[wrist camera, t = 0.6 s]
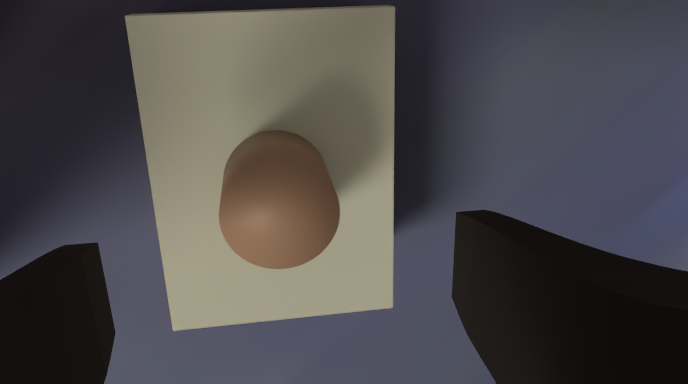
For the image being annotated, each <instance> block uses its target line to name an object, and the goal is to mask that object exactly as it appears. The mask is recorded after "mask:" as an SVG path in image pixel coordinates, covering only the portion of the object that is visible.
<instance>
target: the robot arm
mask: <svg viewBox="0 0 688 384" xmlns="http://www.w3.org/2000/svg"><path fill="white" fill-rule="evenodd" d="M452 299H453V301H454V304H455V306H456V309H457V311H458V314H459V316H460V319H461V321H462V323H463V326H464V328H465V330H466V333H467V335H468V337H469V338H470V340H471V342H472V344H473V345H474V347H475V349H476V350H477V352H478V354H479V355H480V357H481V359H482V360H483V362H484V364H485V365H486V367H487V369H488V370H489V372H490V373H491V375H492V377H493V378H494V380H495V382H496V383H497V384H688V272H687V271H682V270H677V269H672V268H667V267H662V266H658V265H654V264H650V263H646V262H642V261H638V260H634V259H630V258H626V257H622V256H619V255H615V254H612V253H609V252H606V251H602V250H599V249H596V248H593V247H590V246H587V245H584V244H581V243H578V242H575V241H573V240H570V239H567V238H564V237H561V236H559V235H556V234H553V233H551V232H548V231H545V230H543V229H540V228H538V227H535V226H532V225H530V224H527V223H525V222H522V221H519V220H517V219H514V218H511V217H508V216H505V215H502V214H499V213H496V212H492V211H488V210H477V211H465V212H456V226H455V246H454V267H453V287H452ZM114 337H115V328H114V323H113V318H112V313H111V308H110V303H109V298H108V293H107V288H106V282H105V277H104V272H103V267H102V262H101V257H100V252H99V247H98V243H86V244H74V245H64V246H62V247H59V248H57V249H54V250H52V251H50V252H48V253H46V254H45V255H43V256H41V257H39V258H37V259H36V260H34V261H32V262H30V263H29V264H27V265H25V266H24V267H22V268H20V269H18V270H17V271H15V272H13V273H12V274H10V275H8V276H6V277H5V278H3V279H1V280H0V384H104V381H105V378H106V375H107V371H108V366H109V362H110V357H111V352H112V347H113V342H114Z"/></svg>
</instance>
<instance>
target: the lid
mask: <svg viewBox="0 0 688 384" xmlns="http://www.w3.org/2000/svg"><path fill="white" fill-rule="evenodd" d="M125 21H126V28H127V34H128V41H129V47H130V54H131V60H132V67H133V73H134V80H135V86H136V93H137V99H138V106H139V112H140V119H141V126H142V132H143V139H144V145H145V152H146V158H147V165H148V171H149V178H150V184H151V191H152V197H153V204H154V210H155V217H156V223H157V230H158V236H159V243H160V249H161V256H162V263H163V269H164V276H165V282H166V289H167V295H168V302H169V308H170V315H171V321H172V328H173V331H176V330H186V329H195V328H205V327H214V326H224V325H233V324H243V323H252V322H262V321H271V320H281V319H290V318H300V317H310V316H319V315H329V314H338V313H348V312H357V311H367V310H376V309H386V308H393V222H394V86H395V6H391V5H373V6H344V7H316V8H287V9H258V10H229V11H201V12H172V13H143V14H129V15H126V16H125Z"/></svg>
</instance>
